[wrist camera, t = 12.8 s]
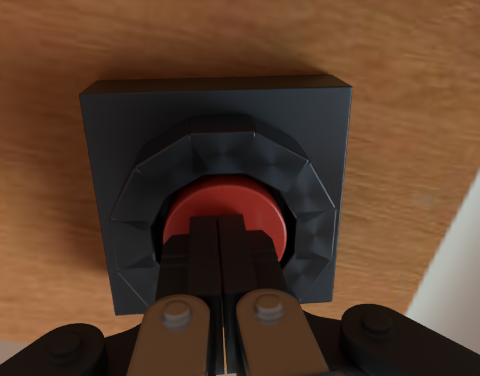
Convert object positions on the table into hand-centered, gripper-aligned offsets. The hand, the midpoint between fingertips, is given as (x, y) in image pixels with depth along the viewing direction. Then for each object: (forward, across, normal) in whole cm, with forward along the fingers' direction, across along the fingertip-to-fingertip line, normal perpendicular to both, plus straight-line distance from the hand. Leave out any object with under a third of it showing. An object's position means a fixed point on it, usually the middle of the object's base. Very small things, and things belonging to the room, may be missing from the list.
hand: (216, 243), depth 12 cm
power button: (+2, 0, 0) cm, 2 cm away
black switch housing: (+4, 0, 0) cm, 4 cm away
